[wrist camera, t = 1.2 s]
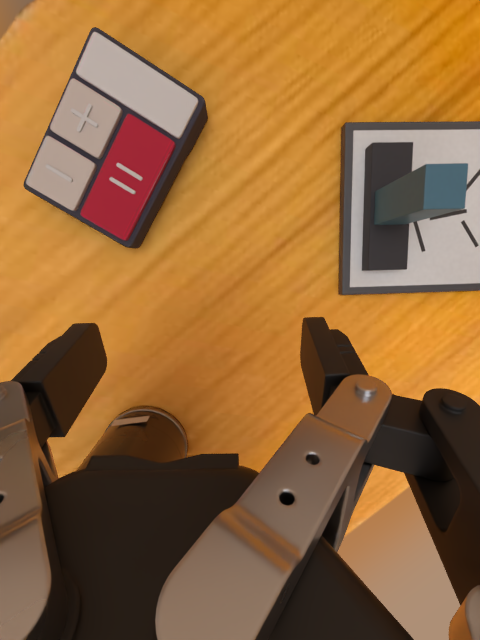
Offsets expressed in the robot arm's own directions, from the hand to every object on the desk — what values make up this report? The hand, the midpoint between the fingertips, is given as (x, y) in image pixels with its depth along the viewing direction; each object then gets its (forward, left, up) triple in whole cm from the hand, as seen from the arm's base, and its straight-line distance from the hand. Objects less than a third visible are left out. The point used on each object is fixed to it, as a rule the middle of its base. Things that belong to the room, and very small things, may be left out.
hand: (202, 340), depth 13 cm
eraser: (+8, -17, -21) cm, 28 cm away
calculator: (+14, +9, -22) cm, 28 cm away
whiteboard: (+8, -24, -22) cm, 34 cm away
